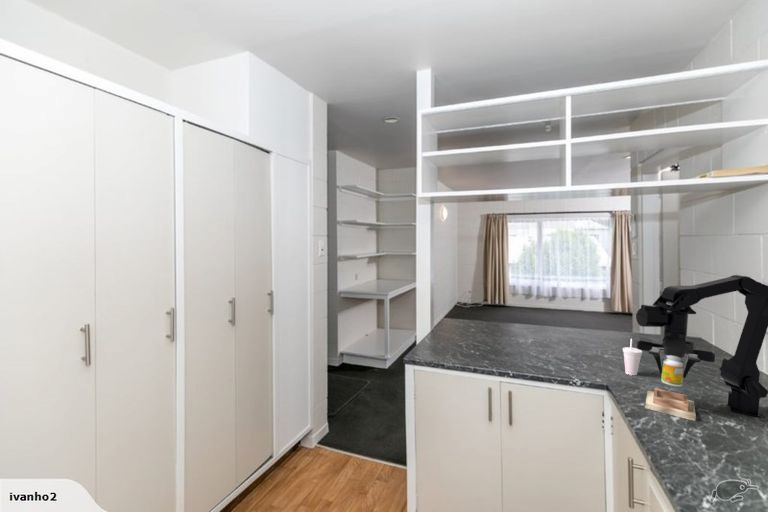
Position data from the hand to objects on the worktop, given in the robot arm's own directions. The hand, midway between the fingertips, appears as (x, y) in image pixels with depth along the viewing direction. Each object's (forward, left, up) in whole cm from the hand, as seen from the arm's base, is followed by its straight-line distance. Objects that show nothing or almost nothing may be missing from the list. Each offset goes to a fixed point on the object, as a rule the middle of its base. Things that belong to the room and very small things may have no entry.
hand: (672, 375), depth 114 cm
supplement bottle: (0, 0, -3) cm, 3 cm away
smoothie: (+12, -24, -11) cm, 29 cm away
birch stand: (0, 0, -10) cm, 10 cm away
